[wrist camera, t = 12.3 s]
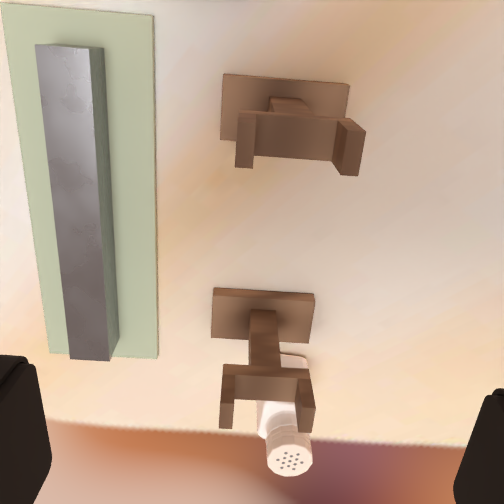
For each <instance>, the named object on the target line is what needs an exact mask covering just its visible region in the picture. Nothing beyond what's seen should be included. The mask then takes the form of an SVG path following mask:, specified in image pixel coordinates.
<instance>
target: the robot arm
mask: <svg viewBox="0 0 504 504" xmlns="http://www.w3.org/2000/svg"><path fill="white" fill-rule="evenodd" d="M51 462H52V453H51V447H50V442H49V437H48V431H47V426H46V420H45V415H44V410H43V404H42V399H41V393H40V388H39V383H38V377H37V372H36V368H35V366H34V365H33V364H29V363H28V360H27V358H26V357H23V356H12V355H0V504H33V503H34V501H35V499H36V497H37V495H38V493H39V491H40V489H41V487H42V485H43V483H44V481H45V479H46V477H47V475H48V473H49V470H50V467H51ZM453 491H454V498H455V501H456V504H504V389H501V388H499V389H496V390H494V392H493V393H492V395H487V396H486V397H485V399H484V401H483V404H482V406H481V409H480V412H479V415H478V417H477V420H476V423H475V426H474V428H473V431H472V434H471V437H470V440H469V442H468V445H467V448H466V451H465V453H464V456H463V459H462V462H461V464H460V467H459V470H458V473H457V475H456V478H455V481H454V486H453Z"/></svg>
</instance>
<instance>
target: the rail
mask: <svg viewBox="0 0 504 504" xmlns="http://www.w3.org/2000/svg"><path fill="white" fill-rule="evenodd" d="M35 53H36V62H37V71H38V80H39V88H40V97H41V106H42V115H43V124H44V133H45V142H46V150H47V159H48V168H49V177H50V186H51V195H52V203H53V212H54V221H55V230H56V239H57V248H58V256H59V265H60V274H61V283H62V292H63V301H64V309H65V318H66V327H67V336H68V345H69V354H70V359H77V360H94V361H110V359H111V357H112V355H113V352H114V350H115V348H116V345H117V343H118V341H119V338H120V335H119V316H118V298H117V279H116V260H115V241H114V223H113V204H112V185H111V166H110V147H109V129H108V110H107V91H106V72H105V54H104V48H101V47H89V46H78V45H67V44H35Z"/></svg>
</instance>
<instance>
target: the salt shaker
mask: <svg viewBox="0 0 504 504" xmlns="http://www.w3.org/2000/svg"><path fill="white" fill-rule="evenodd" d="M280 358H281V367H288V368H305V369H308V365H307V360H306V359H305V358H303V357H301V356H293V355H285V354H280ZM256 403H257V432H258V434H259V436H261V437H262V438H263V439H266V447H267V462H268V467H269V468H270V469H271V470H272V471H273V472H275V473H276V474H279V475H282V476H297V475H299V474H301V473H303V472H305V471H307V470H308V469H309V467H310V466H311V464H312V451H311V444H310V436H309V434H310V433H299V432H298V427H297V419H296V411H295V403H294V402H280V401H261V400H256ZM315 411H316V410H315ZM314 416H315V415H314Z"/></svg>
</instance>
